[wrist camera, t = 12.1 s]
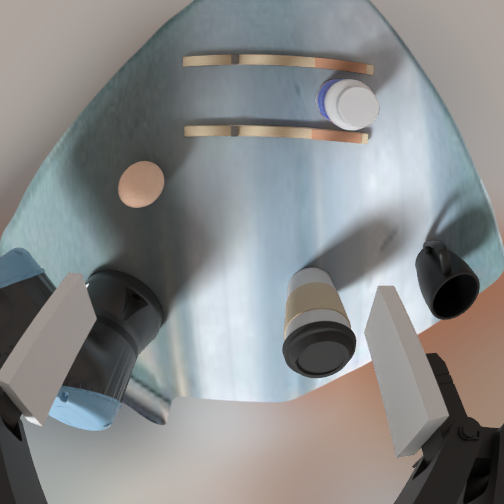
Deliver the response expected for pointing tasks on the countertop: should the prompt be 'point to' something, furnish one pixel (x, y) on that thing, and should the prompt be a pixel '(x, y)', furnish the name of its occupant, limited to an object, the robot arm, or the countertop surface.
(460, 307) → the mug
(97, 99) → the countertop surface
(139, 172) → the egg
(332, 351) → the coffee cup
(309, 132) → the beam track
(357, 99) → the pill bottle
